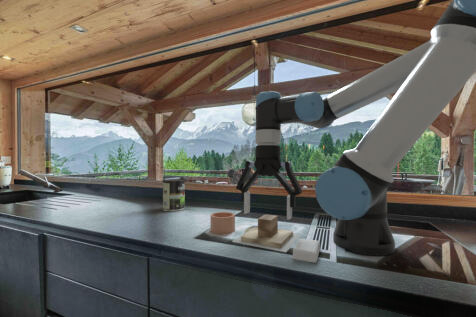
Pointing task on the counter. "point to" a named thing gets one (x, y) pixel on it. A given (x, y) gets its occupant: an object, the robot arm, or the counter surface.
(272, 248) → the mat
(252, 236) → the lid
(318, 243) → the soap
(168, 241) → the counter surface
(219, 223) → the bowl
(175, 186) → the coffee can
